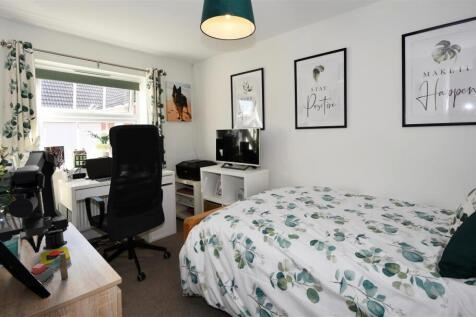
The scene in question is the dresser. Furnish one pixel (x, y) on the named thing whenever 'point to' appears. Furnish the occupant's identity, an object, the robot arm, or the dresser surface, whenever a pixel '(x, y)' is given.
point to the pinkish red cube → (39, 269)
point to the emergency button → (54, 257)
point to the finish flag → (61, 265)
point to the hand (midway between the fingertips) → (37, 252)
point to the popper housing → (45, 275)
